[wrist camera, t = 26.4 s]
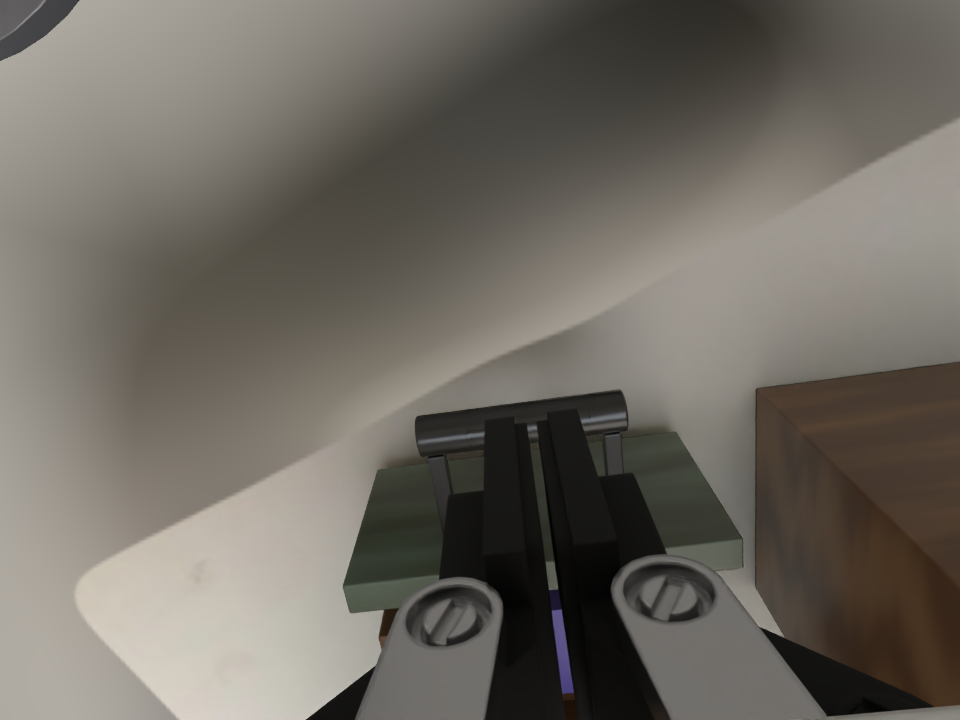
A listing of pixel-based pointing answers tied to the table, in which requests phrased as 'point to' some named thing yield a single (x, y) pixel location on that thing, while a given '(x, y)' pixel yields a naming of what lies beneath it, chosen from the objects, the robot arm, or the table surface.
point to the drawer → (425, 489)
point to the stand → (865, 523)
